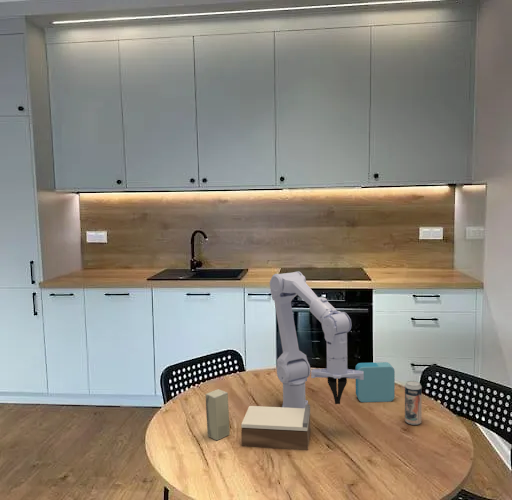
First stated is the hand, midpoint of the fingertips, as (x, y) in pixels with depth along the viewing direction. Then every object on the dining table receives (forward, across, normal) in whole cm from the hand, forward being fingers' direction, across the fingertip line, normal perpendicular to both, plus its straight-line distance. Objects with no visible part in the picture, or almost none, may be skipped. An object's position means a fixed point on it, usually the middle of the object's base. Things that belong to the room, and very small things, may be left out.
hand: (337, 402), depth 137 cm
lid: (+4, -17, -4) cm, 18 cm away
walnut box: (+9, -17, -4) cm, 20 cm away
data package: (+10, +12, +26) cm, 30 cm away
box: (+10, -34, -5) cm, 36 cm away
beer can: (+10, +22, +10) cm, 26 cm away
